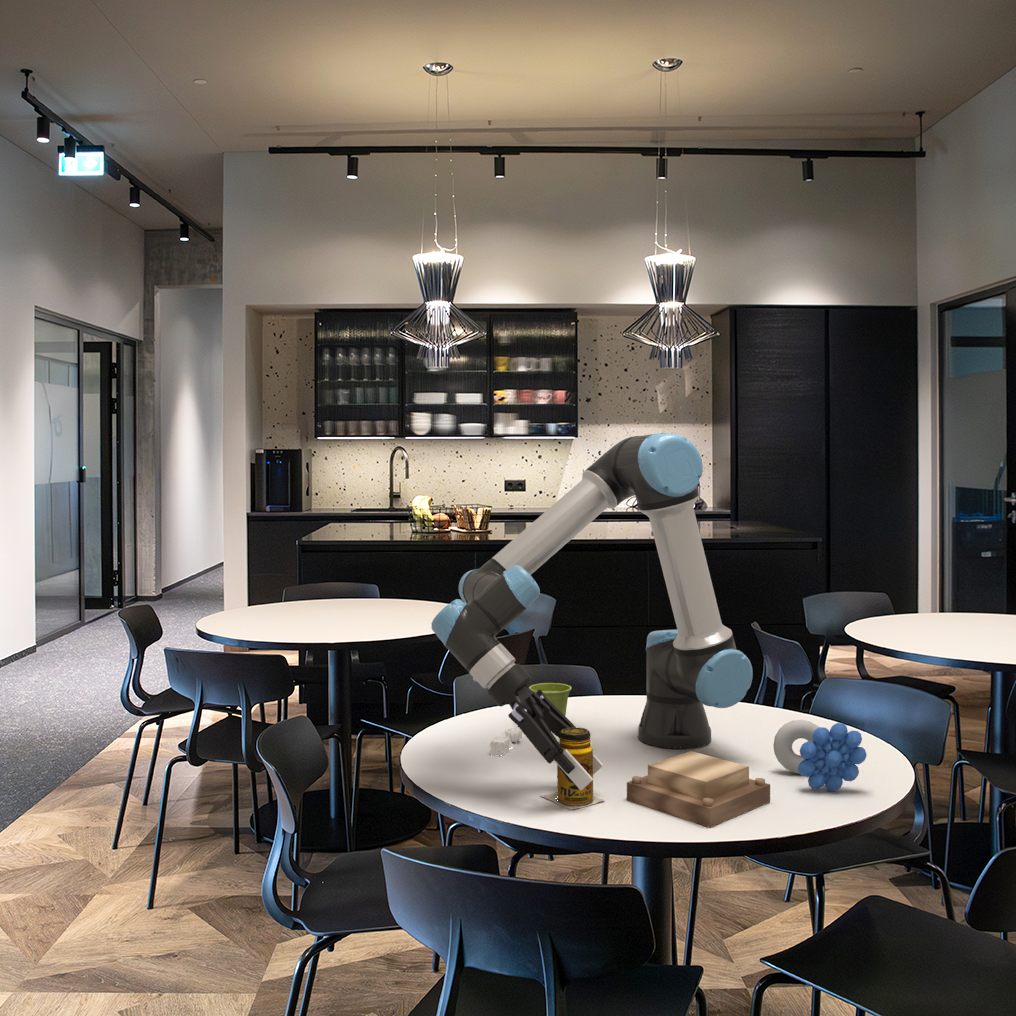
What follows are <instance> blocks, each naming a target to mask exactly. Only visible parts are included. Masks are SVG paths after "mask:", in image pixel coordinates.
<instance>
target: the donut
mask: <svg viewBox="0 0 1016 1016" xmlns="http://www.w3.org/2000/svg"><path fill="white" fill-rule="evenodd" d="M819 727H820V726H819V725H817V724H815V723H814V722H812V721H810V720H803V719H795V720H790V721H789V722H787V723H784V724H783V725H782V726H781V727H780V728H779V729H778V730H777V732H776V734H775V736H774V740H773V745H772V746H773V751H774V756H775V758H776V759H777V762H778V763H779V764H780V765H781V766H782V767H783V768H785V769H786V770H788V771H790V772H791V773H794V774H799V771H798V766H799V764H800V762H801V761H803V760H805V759H804V758H803V757H801V755H800V754H799V755H798V754H797V753H796V752H795V751H794V750H793V744H794V742H795V741H796V740H799V739H804V740H806V742H807V741H809V742H813V739H812V735H813V732H814V731H815V730H816V729H817V728H819ZM799 775H800V774H799Z"/></svg>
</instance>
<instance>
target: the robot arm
mask: <svg viewBox="0 0 1016 1016" xmlns="http://www.w3.org/2000/svg"><path fill="white" fill-rule="evenodd" d="M703 467H704V465H703V459H702V457H701V454H700V451H699V450H698V448H697V446H695V444H694V443H693V442H692V441H691V440H689V439H687V438H686V437H685V436H682V435H680V434H676V433H670V432H658V433H652V434H645V435H635V436H629V437H627V438H626V437H625V438H624V439H622V440H620V441H619V442H617V443H616V444H615V445H613V446H612V447H610V449H608V450H606V452H604V453H603V454H602V455H601V456H600V457H599V458H598V459H596V460H595V461H594V462H593V463H592V464H591V465H590V466H588V467H587V468H586V469H585V470H584V471H583V472H582V473H581V475H582V477H581V480H580V481H579V482H578V483H577V484H575V486H573V487H572V488H571V489H570V490H569V491H568V492H566V493H565V494H564V495H563V496H562V497H561V498H559V499H558V500H557V501H556V502H555V503H554V504H552V505H551V506H550V507H549V508H548V509H547V510H546V511H544V512H543V513H542V514H541V515H540V516H538V518H536V519H535V520H534V521H533V522H531V524H529V525H528V526H527V527H525V529H524V530H522V531H521V532H520V533H519V534H518V535H517V536H515V537H514V538H513V539H512V540H511V541H510V542H508V544H506V545H505V546H504V547H503V548H502V549H501V550H500V551H498V552H497V553H496V554H495V555H494V556H492V558H490V559H489V560H488V561H486V562H485V563H484V564H483V565H482V566H481V567H479V568H476V569H471V570H469V571H467V572H465V573H464V574H463V575H462V576H461V578H460V580H459V583H458V593H459V597H460V598H461V599H458V598H456V599H454V600H452V601H451V602H450V603H448V604H447V605H446V606H444V607H443V608H442V609H441V610H440V611H439V612H438V613H437V614H436V615H435V617H434V618H433V619H432V621H431V630H432V632H434V634H435V635H436V636H437V638H438V639H439V640H440V641H441V642H442V644H443V646H444V647H445V648H446V649H447V650H448V651H449V652H450V653H451V654H452V655H453V656H454V657H455V659H456V660H457V661H458V663H460V664H461V665H462V666H463V667H464V668H465V670H466V671H467V672H468V673H469V674H470V675H471V676H472V680H473V682H476V683H478V685H480V687H482V688H483V689H488V690H487V695H489V697H490V698H491V699H492V700H493V701H494V703H495V704H496V705H497V706H499V707H504V706H505V705H506V704H508V705H509V707H510V708H511V711H510V713H509V714H508V718H509V719H510V720H511V721H512V722H513V723H514V725H516V726H517V727H518V728H519V729H520V730H522V734H524V736H525V737H526V738H527V739H528V740H529V742H530V743H531V744H532V745H533V747H534V748H535V749H536V750H537V753H539V754H540V755H541V757H542V758H543V759H544V760H545V761H546V762H547V763H548V764H552V763H553V762H554V763H556V765H557V764H558V766H559V767H560V768H561V769H562V770H563V771H564V772H565V773H566V775H567V776H568V777H569V778H570V779H571V780H572V781H573V782H574V784H575V785H576V786H577V787H578V788H579V789H580V790H582V789H584V788H585V787H586V786H587V785H588V784H589V783H590V782H591V781H592V780H593V781H594V777H593V778H592V777H591V776H590V775H589V774H588V773H587V771H586V770H585V769H584V768H583V767H582V766H581V765H580V764H579V763H578V761H577V760H576V759H575V758H574V757H573V756H572V755H571V754H570V753H569V751H568V750H567V749H566V750H565V751H564V752H563V748H562V747H561V745H560V743H559V741H558V739H560V735H559V732H560V731H561V730H562V729H565V728H572V727H575V728H577V726H575V724H574V723H573V722H572V721H571V720H570V719H568V717H566V716H564V715H563V714H562V713H561V712H560V711H559V710H558V709H557V708H556V707H555V705H554V704H553V703H552V702H551V701H550V700H549V699H548V698H547V697H546V696H545V694H544V693H543V692H542V691H541V690H538V691H537V692H536V693H535V692H533V691H532V690H531V689H530V688H529V687H530V686H529V687H528V684H529V683H530V682H531V680H532V676H531V674H529V673H528V671H527V670H526V669H524V667H523V666H522V665H521V663H515V662H516V658H515V657H514V656H513V655H512V654H511V652H509V650H508V649H507V648H506V647H505V646H504V645H503V644H502V643H501V642H500V640H499V639H497V637H496V636H497V635H498V634H500V633H501V631H503V630H504V629H505V628H506V627H507V626H508V625H510V624H511V623H512V622H513V621H514V620H516V619H517V617H519V616H520V615H521V614H522V613H524V612H525V611H526V610H527V609H529V608H530V606H531V605H532V604H533V603H534V602H536V600H537V599H538V598H539V597H540V594H541V593H540V592H541V590H540V586H539V585H538V583H537V582H536V580H535V579H534V578H533V576H532V575H533V573H535V572H536V571H538V569H539V568H540V567H542V566H543V565H544V564H545V563H546V562H547V561H549V559H550V558H551V557H553V556H554V555H555V554H556V553H558V551H560V550H561V549H562V548H563V547H564V546H565V545H566V544H567V543H569V542H570V541H571V540H572V539H573V538H574V537H576V536H577V535H578V534H579V533H581V532H582V530H584V529H585V528H586V527H587V526H588V525H590V524H591V523H592V522H593V521H594V520H595V519H596V518H597V517H599V515H601V514H602V513H603V512H604V511H605V510H606V509H615V508H617V507H618V506H619V505H620V504H621V503H622V502H624V501H625V500H627V499H630V498H631V497H634V496H635V499H636V502H637V507H638V511H639V512H641V513H642V514H644V515H645V516H647V517H648V518H649V523H650V526H651V530H652V535H653V538H654V542H655V547H656V550H657V554H658V558H659V561H660V562H659V563H660V566H661V570H662V573H663V574H662V575H663V578H664V581H665V582H664V583H665V586H666V590H667V594H668V598H669V602H670V606H671V610H672V613H673V617H674V622H675V626H676V629H663V630H654V631H650V632H649V633H648V635H647V637H646V644H645V645H646V647H645V653H646V657H645V658H646V702H645V705H644V708H643V711H642V715H641V718H640V722H639V724H638V728H637V737H638V740H639V739H640V741H641V742H642V743H645V744H646V743H647V745H649V744H650V746H653V747H657V748H666V749H676V750H677V749H684V748H685V749H694V748H702V747H705V746H708V745H709V744H710V743H711V742H712V729H711V726H710V724H709V720H708V716H707V712H706V710H705V706H707V707H713V708H716V709H728V708H731V707H733V706H735V705H737V704H738V703H740V702H741V701H742V700H743V699H744V697H745V696H746V695H747V692H748V690H749V689H750V688H751V685H752V682H753V681H752V680H753V676H754V675H753V666H752V663H751V660H750V659H749V658H748V657H747V655H746V654H744V652H743V651H741V650H739V649H737V646H736V642H735V639H734V634H733V631H732V629H731V628H729V627H727V626H725V625H724V624H723V623H722V622H723V621H722V619H721V615H720V610H719V607H718V603H717V598H716V594H715V590H714V586H713V582H712V578H711V574H710V570H709V566H708V561H707V556H706V554H705V550H704V545H703V542H702V541H703V540H702V537H701V533H700V529H699V526H698V522H697V517H696V512H695V509H694V507H695V506H694V505H695V504H696V503H697V501H698V499H699V497H700V495H699V491H698V487H697V486H698V485H699V484H700V479H701V478H702V476H703V472H704V471H703V469H704V468H703ZM556 737H557V738H558V739H557V738H556ZM685 749H684V750H685ZM603 766H604V764H603V762H602V761H601V760H600V759H599V758H598V757H597V756H596V754H595V753H593V776H594V775H595V774H596V773H597V772H598V771H600V769H601V768H602V767H603Z"/></svg>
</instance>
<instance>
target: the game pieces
mask: <svg viewBox="0 0 1016 1016" xmlns="http://www.w3.org/2000/svg"><path fill="white" fill-rule="evenodd" d="M504 733H505V737H503V738H502V737H499V736H498V737H497V736H495V737H493V739H492V740H490V743H489V745H490V748H489V749H490V754H489V755H490V756H491V755H494V756H495V755H502V756H505V755H506V754H507V753H508V752H509V751H510V752H511V750H509V748H511V747H514V743H512V742H517V741H519V742H520V740H521V739H522V738H523V732H522V730H521V729H520V728H519V729H518V728H517V727H511V728H509V729H508V728H507V730H506V731H504ZM517 743H518V742H517ZM510 752H509V753H510ZM509 753H508V754H509ZM508 754H507V755H508ZM507 755H506V756H507ZM502 756H501V757H502ZM506 756H505V757H506Z"/></svg>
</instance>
